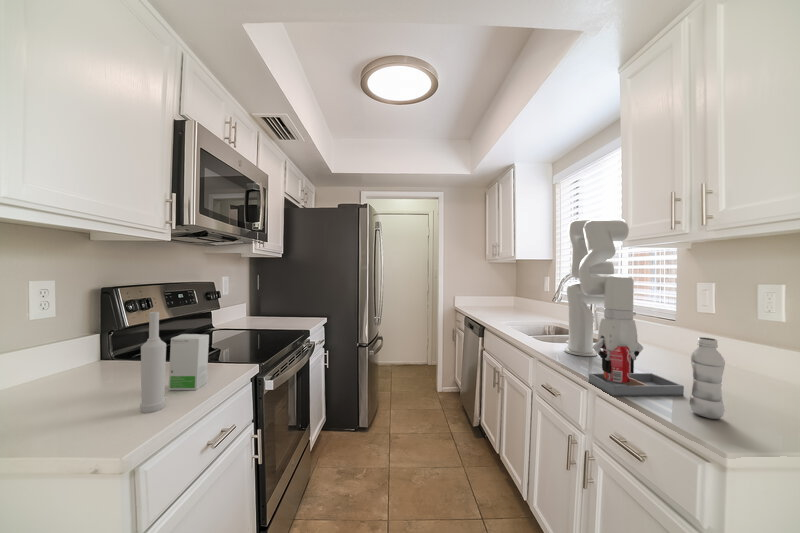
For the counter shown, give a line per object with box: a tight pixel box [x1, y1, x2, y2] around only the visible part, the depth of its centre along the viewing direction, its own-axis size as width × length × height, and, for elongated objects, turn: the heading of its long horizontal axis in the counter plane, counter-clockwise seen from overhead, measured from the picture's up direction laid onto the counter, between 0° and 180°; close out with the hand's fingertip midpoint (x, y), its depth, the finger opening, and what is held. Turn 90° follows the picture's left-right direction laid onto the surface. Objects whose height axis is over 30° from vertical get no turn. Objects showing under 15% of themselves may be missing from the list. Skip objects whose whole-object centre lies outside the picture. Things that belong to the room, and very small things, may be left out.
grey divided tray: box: [588, 372, 685, 398], centre depth 98 cm, size 11×22×3 cm, turn 93°
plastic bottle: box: [689, 336, 726, 420], centre depth 80 cm, size 6×7×20 cm
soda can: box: [602, 345, 631, 384], centre depth 98 cm, size 7×7×12 cm
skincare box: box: [167, 333, 210, 391], centre depth 96 cm, size 8×7×16 cm
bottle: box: [139, 311, 167, 414], centre depth 81 cm, size 5×5×25 cm
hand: (617, 371), depth 98 cm, fingers closed on soda can, 6 cm apart
